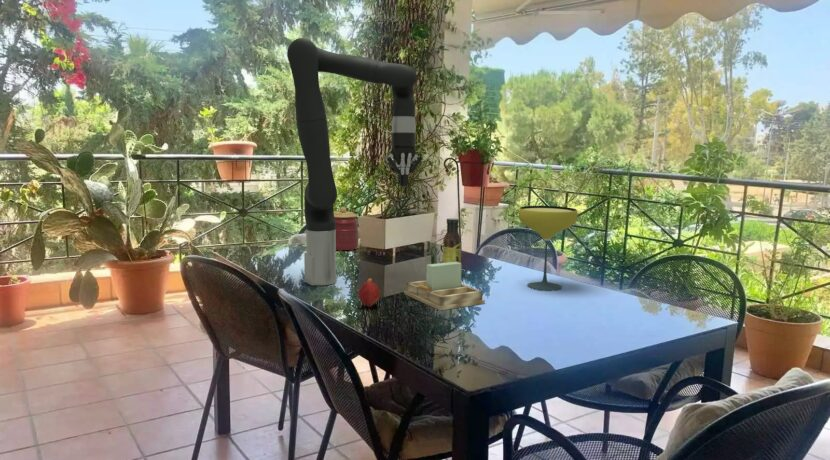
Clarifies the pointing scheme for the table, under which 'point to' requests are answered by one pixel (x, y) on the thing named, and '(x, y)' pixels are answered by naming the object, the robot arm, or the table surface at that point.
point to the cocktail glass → (547, 231)
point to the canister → (346, 230)
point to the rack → (444, 296)
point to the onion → (369, 293)
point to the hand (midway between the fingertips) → (403, 186)
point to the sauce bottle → (452, 242)
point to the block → (443, 276)
